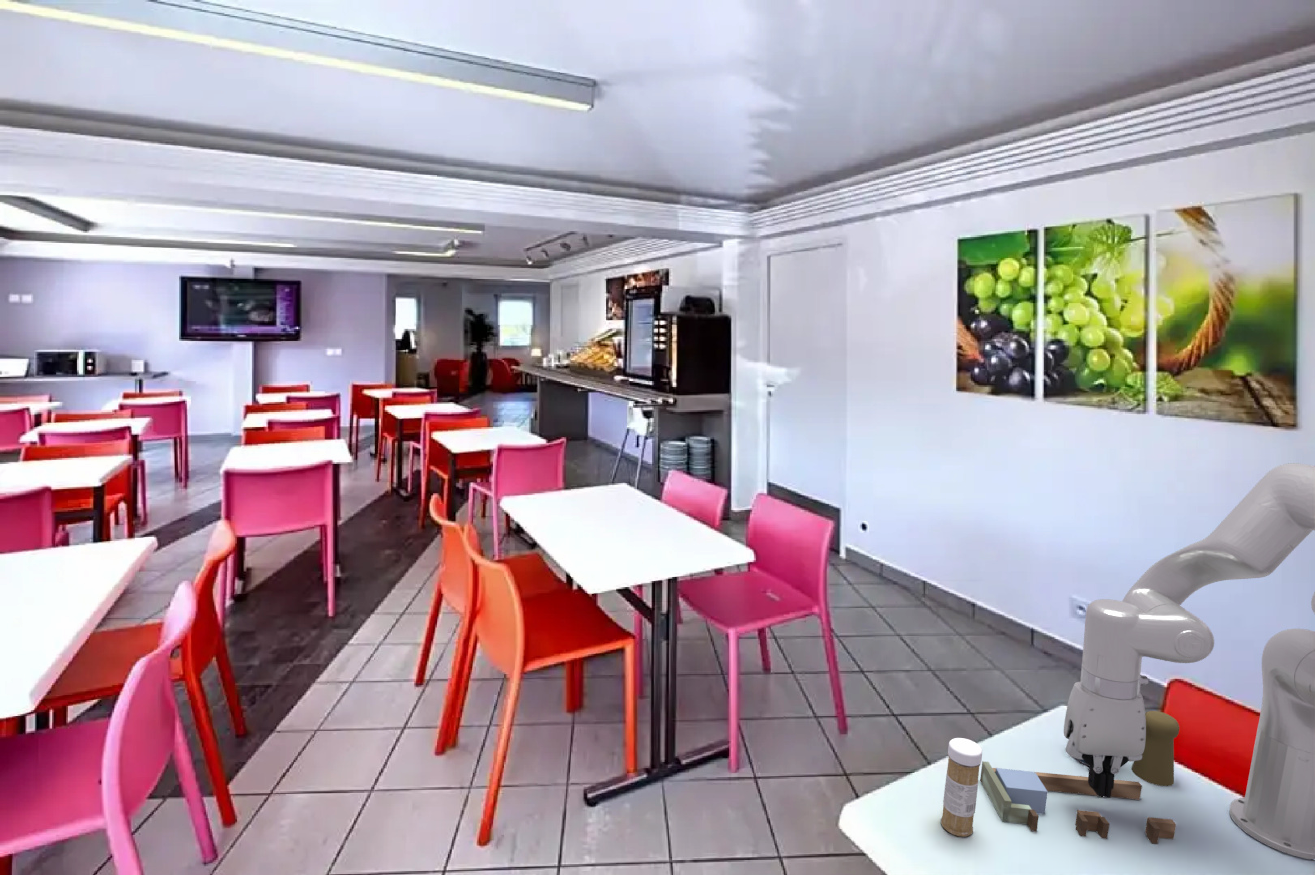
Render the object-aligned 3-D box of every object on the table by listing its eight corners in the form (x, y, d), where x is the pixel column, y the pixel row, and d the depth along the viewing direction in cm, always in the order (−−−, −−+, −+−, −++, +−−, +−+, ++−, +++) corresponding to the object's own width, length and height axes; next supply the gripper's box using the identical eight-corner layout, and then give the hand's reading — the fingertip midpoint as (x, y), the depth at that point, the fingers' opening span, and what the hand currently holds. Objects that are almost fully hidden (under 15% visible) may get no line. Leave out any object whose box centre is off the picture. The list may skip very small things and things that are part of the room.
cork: (1181, 789, 118) (1191, 727, 116) (1141, 783, 119) (1150, 722, 117) (1163, 767, 124) (1172, 708, 122) (1125, 762, 125) (1133, 703, 123)
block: (1032, 794, 115) (1034, 772, 114) (1044, 815, 110) (1047, 791, 110) (993, 790, 116) (995, 768, 115) (1004, 810, 111) (1006, 787, 110)
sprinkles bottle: (959, 815, 109) (968, 735, 107) (979, 836, 105) (989, 752, 103) (933, 819, 108) (942, 738, 106) (953, 840, 104) (962, 756, 102)
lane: (1136, 795, 115) (1139, 776, 115) (1179, 846, 104) (1183, 825, 104) (980, 780, 118) (982, 761, 117) (1006, 828, 107) (1008, 807, 106)
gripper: (1147, 672, 111) (1137, 779, 114) (1047, 668, 113) (1039, 774, 115) (1177, 696, 104) (1165, 810, 106) (1069, 692, 105) (1060, 805, 108)
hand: (1100, 791), depth 111 cm, fingers closed
